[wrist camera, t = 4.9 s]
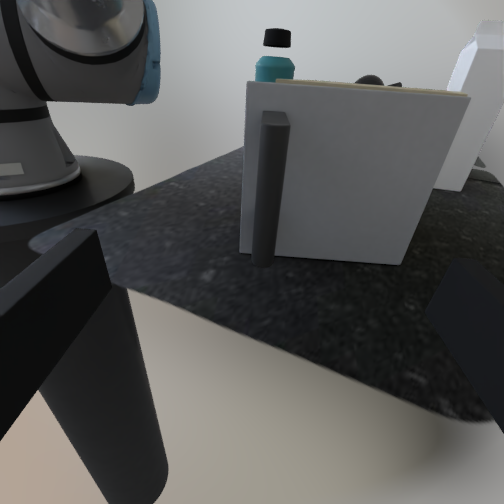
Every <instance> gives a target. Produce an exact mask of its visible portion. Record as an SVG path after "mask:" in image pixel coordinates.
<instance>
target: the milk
mask: <svg viewBox="0 0 504 504" xmlns="http://www.w3.org/2000/svg"><path fill="white" fill-rule="evenodd" d="M446 91H458V92H463V93H466V94H468V96H467V97H471V100H470V103H469V105H468V107H467V110H466V112H465V114H464V117H463V119H462V121H461V124H460V126H459V128H458V131H457V133H456V135H455V138H454V140H453V142H452V145H451V147H450V149H449V152H448V154H447V157H446V159H445V161H444V164H443V166H442V168H441V171H440V173H439V175H438V178H437V180H436V182H435V185H434V187H433V188H435V189H443V190H450V191H458V192H461V190H462V188H463V186H464V184H465V182H466V180H467V178H468V176H469V173H470V171H471V169H472V167H473V165H474V163H475V161H476V159H477V157H478V155H479V153H480V151H481V149H482V147H483V145H484V142H485V140H486V138H487V136H488V134H489V132H490V130H491V128H492V126H493V124H494V122H495V120H496V118H497V116H498V114H499V112H500V109H501V107H502V105H503V103H504V21H491V20H482V21H481V22H480V23H479V24H478V27H477V29H476V32H475V34H474V36H473V37H472V38H471V40H470V41H469V42H468V43H467V45H466V46H465V47H464V48H463V49H462V51H461V53H460V55H459V58H458V61H457V63H456V66H455V68H454V71H453V74H452V76H451V79H450V82H449V84H448V87H447V90H446Z"/></svg>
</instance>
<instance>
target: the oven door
mask: <svg viewBox="0 0 504 504" xmlns="http://www.w3.org/2000/svg"><path fill="white" fill-rule="evenodd" d="M470 100H471V97H464V96H450V95H437V94H423V93H409V92H395V91H381V90H368V89H354V88H340V87H326V86H312V85H299V84H285V83H271V82H257V81H247V89H246V111H245V135H244V157H243V180H242V203H241V227H240V250H239V252H240V253H249V254H251V262H252V263H253V265H255V266H257V267H261V268H266V267H270V266H271V265H272V264H273V263H274V256H288V257H301V258H314V259H327V260H340V261H353V262H366V263H379V264H392V265H400V264H401V262H402V260H403V257H404V255H405V253H406V250H407V248H408V246H409V243H410V241H411V239H412V236H413V234H414V232H415V229H416V227H417V225H418V222H419V220H420V217H421V215H422V213H423V210H424V208H425V206H426V203H427V201H428V199H429V196H430V194H431V192H432V189H433V187H434V185H435V182H436V180H437V178H438V175H439V173H440V171H441V168H442V166H443V164H444V161H445V159H446V157H447V154H448V152H449V149H450V147H451V145H452V142H453V140H454V138H455V135H456V133H457V131H458V128H459V126H460V124H461V121H462V119H463V117H464V114H465V112H466V110H467V107H468V105H469V103H470Z"/></svg>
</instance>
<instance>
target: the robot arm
mask: <svg viewBox="0 0 504 504" xmlns="http://www.w3.org/2000/svg"><path fill="white" fill-rule="evenodd" d="M160 54H161V53H160V33H159V22H158V15H157V10H156V6H155V4H154V2H153V1H152V0H0V201H10V200H19V199H26V198H32V197H38V196H43V195H47V194H51V193H54V192H58V191H61V190H63V189H66V188H68V187H70V186H72V185H74V184H76V183H77V182H78V181H80V179H81V178H82V174H81V170H80V167H79V164H78V162H77V160H76V159H75V157H74V156H73V154H72V152H71V151H70V149H69V148H68V147H67V145H66V143H65V142H64V140H63V139H62V137H61V136H60V134H59V132H58V131H57V129H56V128H55V127H54V125H53V123H52V120H51V117H50V114H49V110H48V107H47V103H46V101H56V102H57V101H60V102H89V103H115V104H126V105H129V106H133V105H135V104H150V103H152V102H154V101H155V100H156V98H157V97H158V94H159V88H160ZM111 289H112V285H111V282H110V278H109V274H108V271H107V267H106V263H105V259H104V256H103V252H102V248H101V245H100V241H99V237H98V234H97V230H91V229H79V228H76V229H74V230H73V231H72V232H71V233H69V234H68V235H67V236H66V237H64V238H63V239H62V240H61V241H59V242H58V243H57V244H56V245H54V246H53V247H52V248H51V249H49V250H48V251H47V252H46V253H45V254H43V255H42V256H41V257H40V258H38V259H37V260H36V261H35V262H33V263H32V264H31V265H30V266H28V267H27V268H26V269H25V270H23V271H22V272H21V273H20V274H18V275H17V276H16V277H15V278H13V279H12V280H11V281H10V282H8V283H7V284H6V285H5V286H4V287H2V288H1V289H0V441H1V440H2V438H3V437H4V435H5V434H6V433H7V431H8V430H9V428H10V427H11V425H12V424H13V423H14V422H15V420H16V419H17V418H18V416H19V415H20V413H21V412H22V411H23V409H24V408H25V407H26V405H27V404H28V402H29V401H30V399H31V398H32V397H33V396H34V394H35V393H36V391H37V390H38V389H39V387H40V386H41V385H42V383H43V382H44V380H45V379H46V378H47V376H48V375H49V374H50V372H51V371H52V369H53V368H54V367H55V365H56V364H57V363H58V361H59V360H60V359H61V357H62V356H63V354H64V353H65V352H66V350H67V349H68V348H69V346H70V345H71V343H72V342H73V341H74V339H75V338H76V337H77V335H78V334H79V332H80V331H81V330H82V328H83V327H84V326H85V324H86V323H87V321H88V320H89V319H90V317H91V316H92V315H93V313H94V312H95V310H96V309H97V308H98V306H99V305H100V304H101V302H102V301H103V299H104V298H105V297H106V295H107V294H108V293H109V291H110V290H111ZM424 313H425V314H426V316H427V317H428V319H429V320H430V322H431V323H432V325H433V326H434V328H435V329H436V331H437V332H438V334H439V335H440V337H441V339H442V340H443V342H444V343H445V345H446V346H447V348H448V349H449V351H450V352H451V354H452V355H453V357H454V358H455V360H456V361H457V363H458V365H459V366H460V368H461V369H462V371H463V372H464V374H465V375H466V377H467V378H468V380H469V381H470V383H471V384H472V386H473V387H474V389H475V391H476V392H477V394H478V395H479V397H480V398H481V400H482V401H483V403H484V404H485V406H486V407H487V409H488V410H489V412H490V413H491V415H492V417H493V418H494V420H495V421H496V423H497V424H498V425H499V427H500V429H501V430H502V432H503V433H504V285H503V284H502V283H501V282H500V281H499V280H498V279H497V278H496V277H495V276H493V275H492V274H491V273H490V272H489V271H488V270H487V269H486V268H485V267H483V266H482V265H481V264H480V263H479V262H478V261H477V260H476V259H468V258H455V257H454V258H453V260H452V262H451V264H450V266H449V268H448V270H447V271H446V273H445V275H444V277H443V279H442V281H441V282H440V284H439V286H438V288H437V290H436V292H435V293H434V295H433V297H432V299H431V301H430V303H429V304H428V306H427V308H426V310H425V312H424Z"/></svg>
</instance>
